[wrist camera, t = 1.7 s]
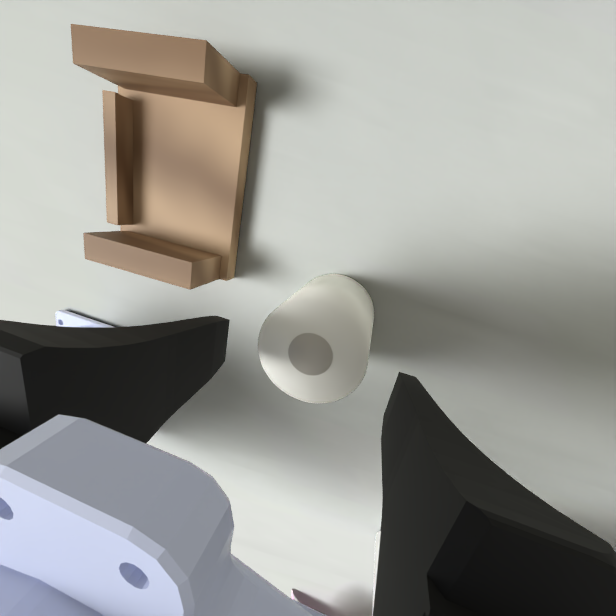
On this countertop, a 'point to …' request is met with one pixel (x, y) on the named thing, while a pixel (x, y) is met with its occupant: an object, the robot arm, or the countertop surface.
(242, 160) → the holder
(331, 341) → the paper roll
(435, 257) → the countertop surface
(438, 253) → the countertop surface
